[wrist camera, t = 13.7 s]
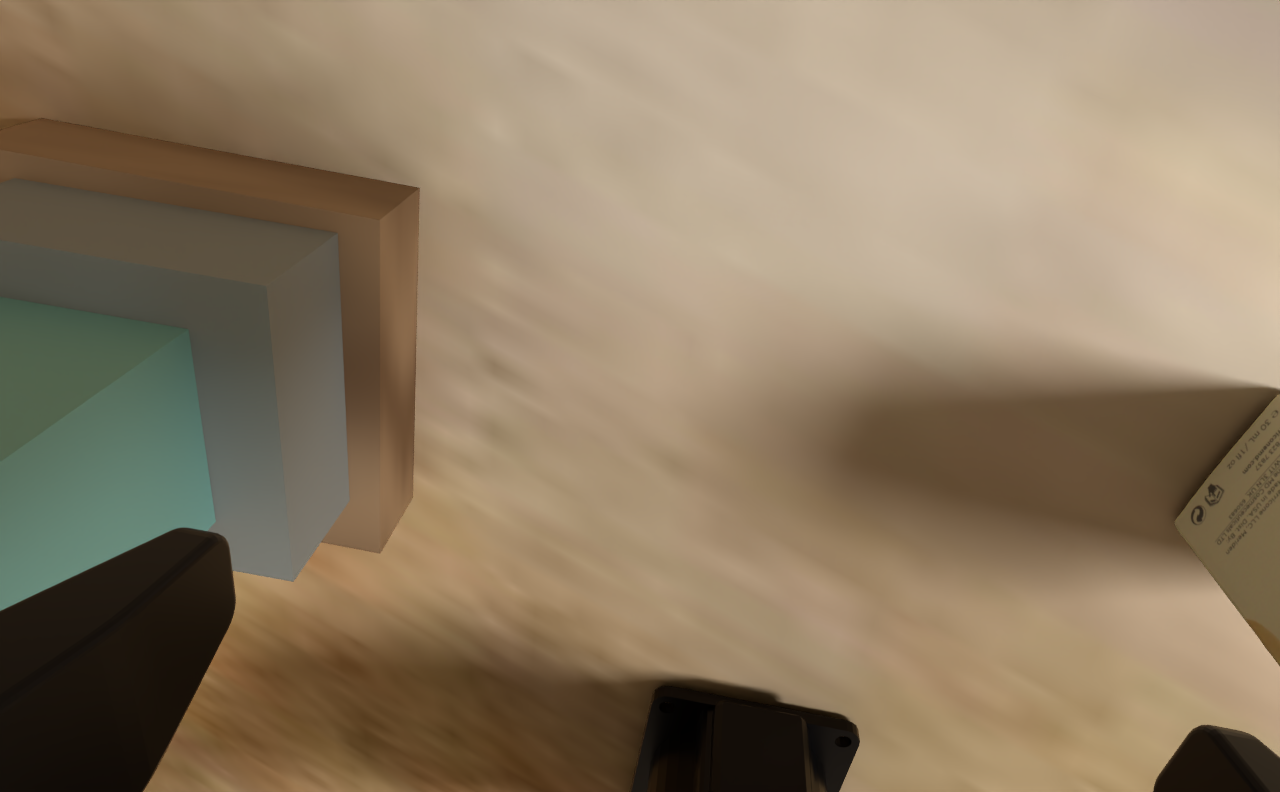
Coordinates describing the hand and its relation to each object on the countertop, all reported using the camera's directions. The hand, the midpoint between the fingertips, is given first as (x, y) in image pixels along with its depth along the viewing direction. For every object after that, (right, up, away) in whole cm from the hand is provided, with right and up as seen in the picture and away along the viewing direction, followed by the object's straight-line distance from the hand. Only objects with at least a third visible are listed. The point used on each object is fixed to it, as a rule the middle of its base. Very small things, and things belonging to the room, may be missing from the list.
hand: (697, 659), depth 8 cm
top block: (-11, +3, +12) cm, 16 cm away
